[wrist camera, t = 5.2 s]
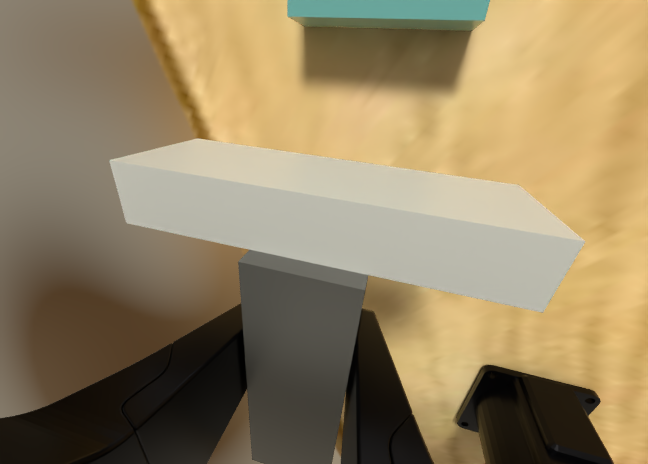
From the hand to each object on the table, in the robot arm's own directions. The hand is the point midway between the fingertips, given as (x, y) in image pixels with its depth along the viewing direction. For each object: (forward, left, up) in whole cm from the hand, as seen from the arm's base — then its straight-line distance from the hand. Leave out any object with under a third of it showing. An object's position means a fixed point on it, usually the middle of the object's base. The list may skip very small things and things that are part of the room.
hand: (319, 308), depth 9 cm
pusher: (0, 0, -1) cm, 1 cm away
